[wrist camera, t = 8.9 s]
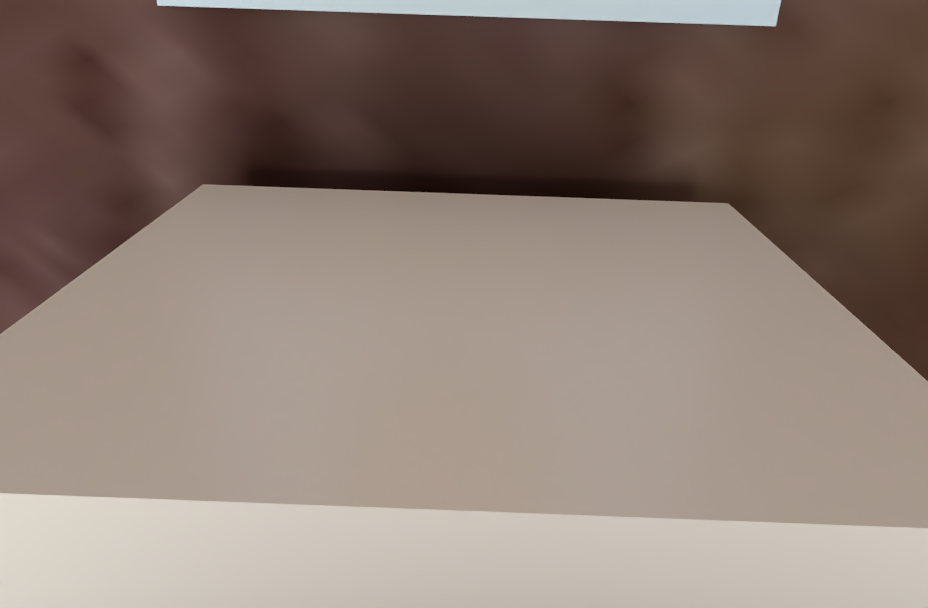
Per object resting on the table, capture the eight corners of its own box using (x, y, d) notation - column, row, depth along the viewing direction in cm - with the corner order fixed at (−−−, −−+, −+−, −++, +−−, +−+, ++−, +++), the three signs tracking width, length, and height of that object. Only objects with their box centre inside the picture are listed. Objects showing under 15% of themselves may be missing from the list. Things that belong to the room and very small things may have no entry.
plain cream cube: (650, 586, 18) (791, 1083, 10) (254, 571, 18) (72, 1053, 10) (728, 203, 13) (1100, 535, 5) (202, 184, 13) (-204, 486, 5)
